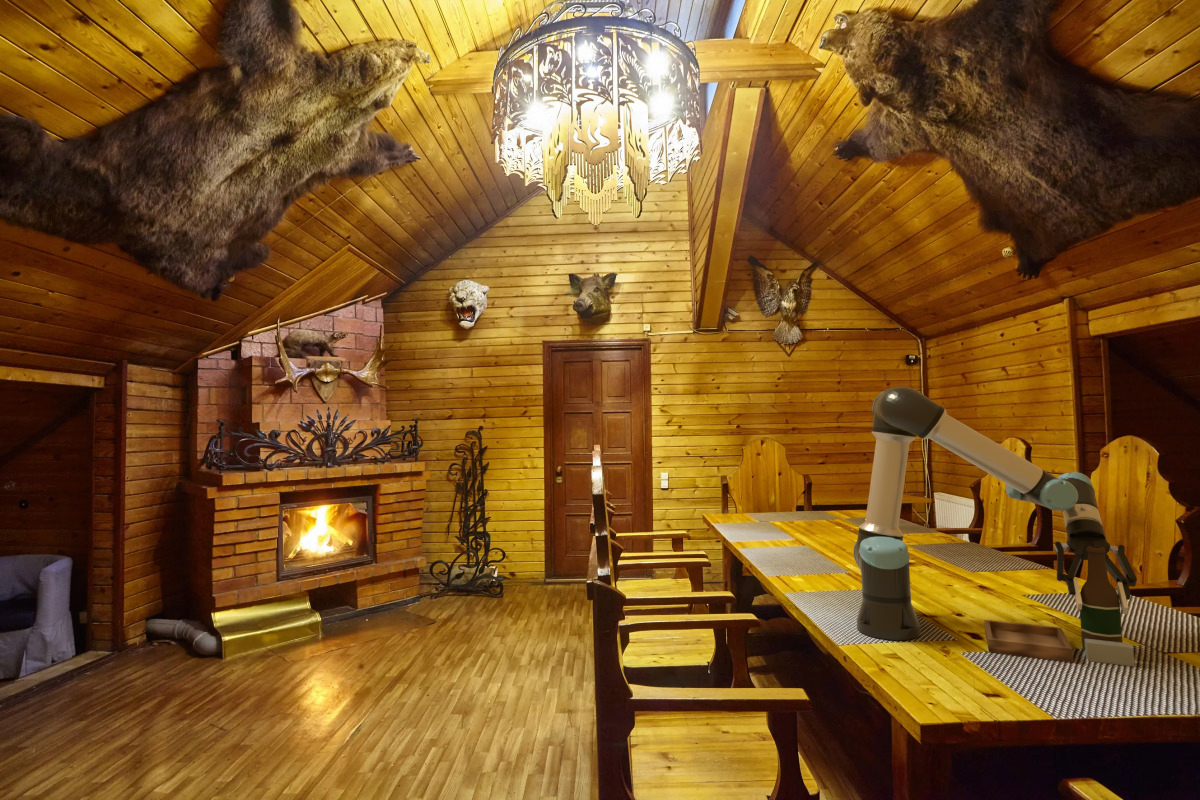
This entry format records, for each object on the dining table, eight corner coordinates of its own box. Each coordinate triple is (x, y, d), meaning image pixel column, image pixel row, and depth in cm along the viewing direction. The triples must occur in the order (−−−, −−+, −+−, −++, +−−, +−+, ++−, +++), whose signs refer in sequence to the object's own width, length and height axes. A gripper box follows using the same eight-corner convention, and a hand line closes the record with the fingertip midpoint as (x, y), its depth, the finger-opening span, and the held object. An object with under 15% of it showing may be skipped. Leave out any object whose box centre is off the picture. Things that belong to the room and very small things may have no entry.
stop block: (1088, 660, 138) (1086, 642, 138) (1085, 656, 141) (1084, 638, 141) (1134, 666, 134) (1133, 647, 135) (1130, 661, 137) (1129, 643, 137)
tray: (988, 652, 145) (987, 639, 145) (985, 631, 159) (984, 619, 159) (1073, 662, 138) (1072, 648, 138) (1061, 640, 151) (1061, 627, 152)
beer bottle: (1074, 648, 146) (1067, 545, 147) (1092, 643, 149) (1086, 542, 150) (1113, 659, 139) (1105, 551, 140) (1131, 653, 142) (1124, 547, 143)
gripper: (1035, 515, 159) (1048, 595, 144) (1138, 519, 149) (1163, 605, 134) (1034, 533, 163) (1046, 612, 148) (1134, 537, 153) (1158, 622, 138)
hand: (1102, 608), depth 141 cm, fingers closed on beer bottle, 7 cm apart
